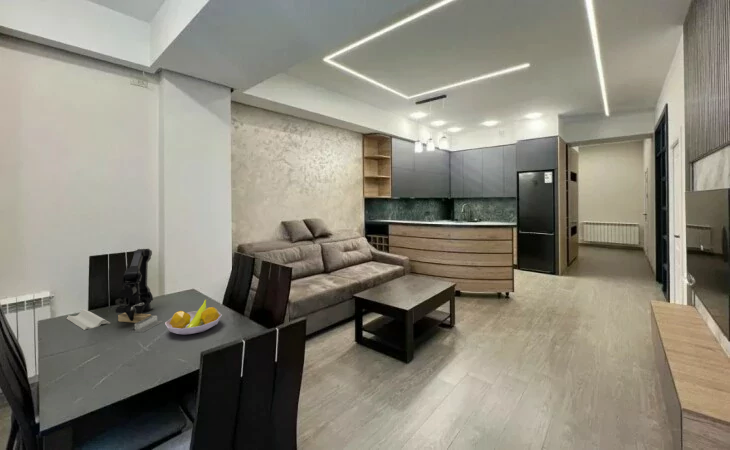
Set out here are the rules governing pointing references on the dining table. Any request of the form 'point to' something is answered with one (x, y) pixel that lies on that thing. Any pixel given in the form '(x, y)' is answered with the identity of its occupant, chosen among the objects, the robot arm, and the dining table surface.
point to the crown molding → (87, 320)
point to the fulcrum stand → (145, 324)
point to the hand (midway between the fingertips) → (135, 319)
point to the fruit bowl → (193, 320)
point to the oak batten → (136, 318)
